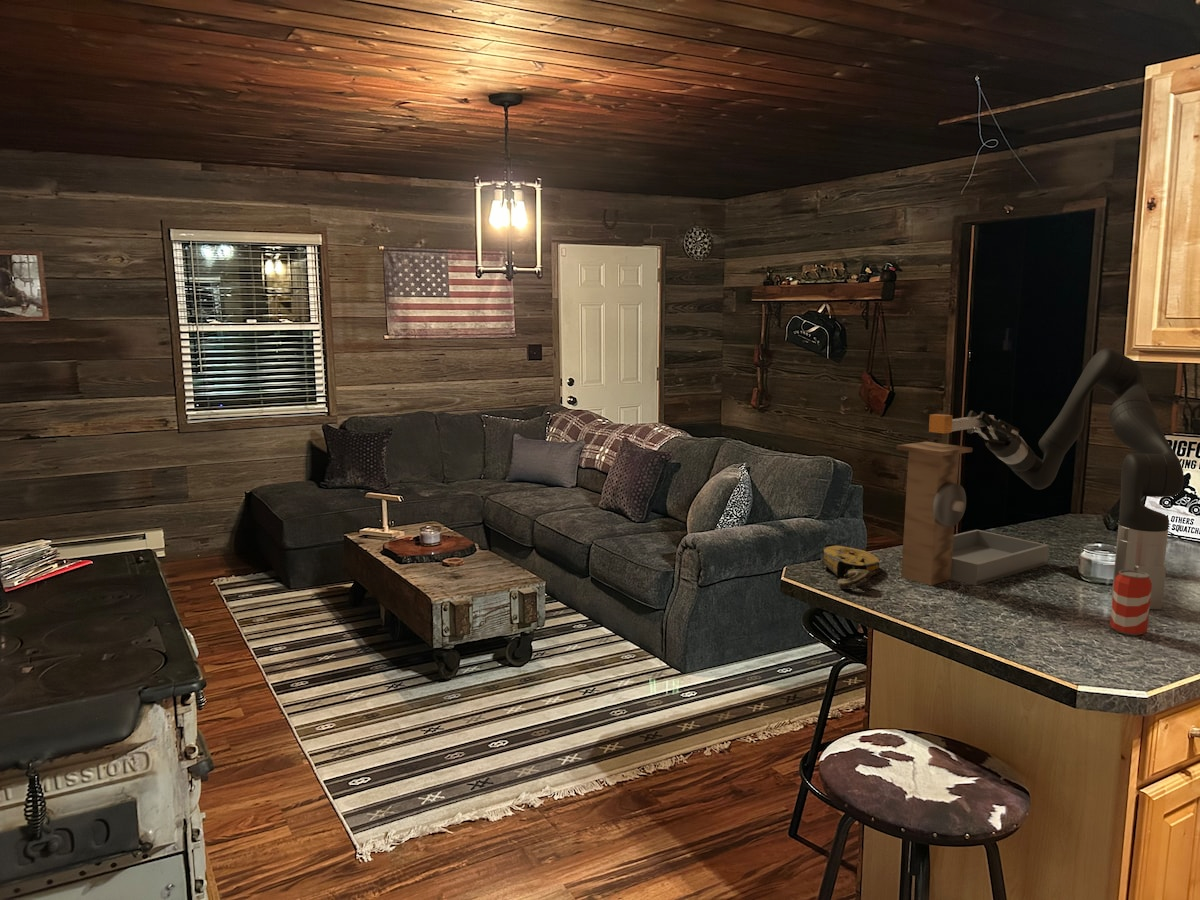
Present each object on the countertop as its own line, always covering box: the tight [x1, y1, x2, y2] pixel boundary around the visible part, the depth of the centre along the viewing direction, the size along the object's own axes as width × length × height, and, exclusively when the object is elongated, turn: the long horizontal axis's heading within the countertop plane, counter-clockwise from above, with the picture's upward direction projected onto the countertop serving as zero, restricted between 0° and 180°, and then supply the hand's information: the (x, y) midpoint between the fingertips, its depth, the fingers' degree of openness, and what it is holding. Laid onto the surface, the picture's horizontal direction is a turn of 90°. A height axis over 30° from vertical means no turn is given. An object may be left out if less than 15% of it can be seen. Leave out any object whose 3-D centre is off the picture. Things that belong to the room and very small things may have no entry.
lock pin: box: [928, 413, 995, 434], centre depth 212 cm, size 22×4×4 cm, turn 126°
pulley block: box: [820, 543, 880, 590], centre depth 213 cm, size 14×6×30 cm
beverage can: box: [1109, 570, 1152, 636], centre depth 175 cm, size 6×6×12 cm
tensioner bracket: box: [896, 441, 974, 586], centre depth 208 cm, size 12×14×32 cm
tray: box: [951, 529, 1050, 586], centre depth 223 cm, size 32×20×5 cm, turn 125°
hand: (975, 414), depth 215 cm, fingers closed on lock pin, 2 cm apart
